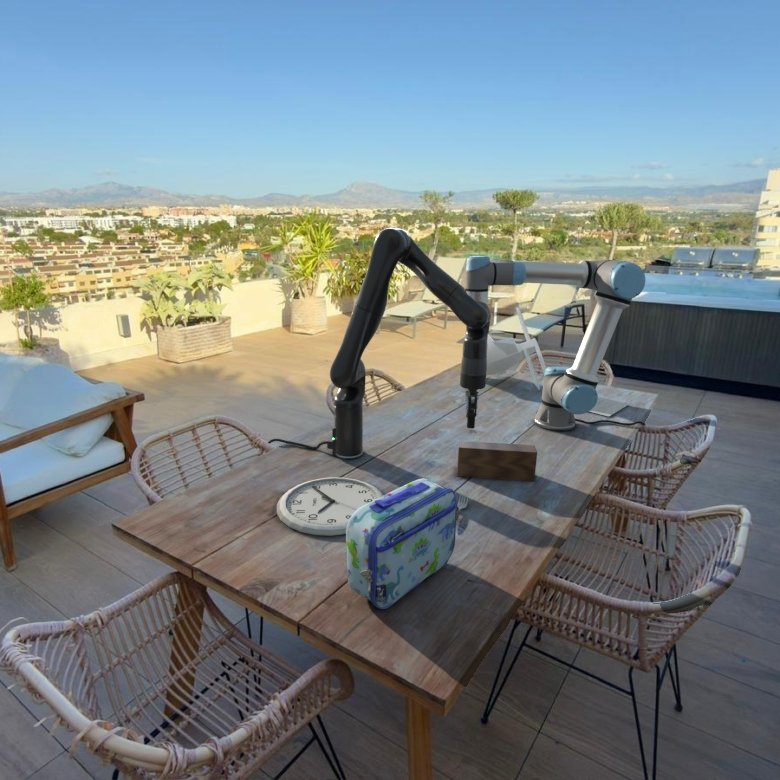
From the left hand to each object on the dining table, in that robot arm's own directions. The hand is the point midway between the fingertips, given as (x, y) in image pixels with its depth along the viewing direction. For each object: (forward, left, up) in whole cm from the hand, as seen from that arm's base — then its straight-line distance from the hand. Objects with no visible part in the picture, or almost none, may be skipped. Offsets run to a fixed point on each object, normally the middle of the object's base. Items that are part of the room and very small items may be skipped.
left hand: (470, 422), depth 158 cm
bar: (+8, +2, -17) cm, 19 cm away
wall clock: (-31, -33, -17) cm, 48 cm away
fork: (+2, -26, -17) cm, 31 cm away
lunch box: (-3, -57, -17) cm, 59 cm away
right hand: (-5, +27, +11) cm, 30 cm away
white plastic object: (-1, +103, -17) cm, 105 cm away
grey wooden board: (+43, +84, -17) cm, 96 cm away
